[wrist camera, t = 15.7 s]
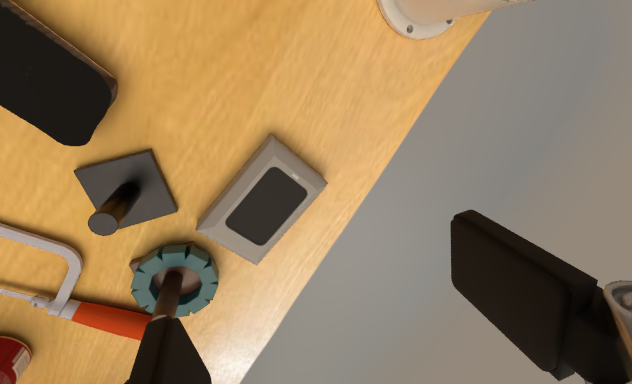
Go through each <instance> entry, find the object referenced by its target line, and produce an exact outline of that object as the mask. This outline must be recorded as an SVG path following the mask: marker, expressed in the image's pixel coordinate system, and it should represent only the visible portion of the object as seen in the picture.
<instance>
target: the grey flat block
mask: <svg viewBox="0 0 632 384" xmlns="http://www.w3.org/2000/svg"><path fill="white" fill-rule="evenodd" d="M327 184H328V182H327V181H326V180H325V179H324V178H323V177H322V176H321V175H319V174H318V173H317V172H316V171H315V170H313V169H312V168H311V167H310V166H309V165H307V164H306V163H305V162H304V161H303V160H301V159H300V158H299V157H298V156H297V155H295V154H294V153H293V152H292V151H291V150H289V149H288V148H287V147H286V146H285V145H283V144H282V143H281V142H280V141H279V140H277V139H276V138H275V137H274V136H273V135H271V134H270V135H269V136H268V137H267V139H266V140H265V141H264V142H263V143H262V145H261V146H260V147H259V148H258V149H257V151H256V152H255V153H254V154H253V155H252V157H251V158H250V159H249V160H248V161H247V163H246V164H245V165H244V166H243V167H242V169H241V170H240V171H239V172H238V173H237V175H236V176H235V177H234V178H233V179H232V181H231V182H230V183H229V184H228V185H227V187H226V188H225V189H224V190H223V191H222V193H221V194H220V195H219V196H218V197H217V199H216V200H215V201H214V202H213V203H212V205H211V206H210V207H209V208H208V209H207V211H206V212H205V213H204V214H203V215H202V217H201V218H200V219H199V220H198V221H197V225H196V231H197V232H199V233H201V234H203V235H204V236H206V237H208V238H210V239H211V240H213V241H215V242H217V243H218V244H220V245H222V246H224V247H225V248H227V249H229V250H231V251H232V252H234V253H236V254H238V255H239V256H241V257H243V258H245V259H246V260H248V261H250V262H252V263H253V264H255V265H258V263H259V262H260V261H261V260H262V259H263V258H264V257H265V256H266V254H267V253H268V252H269V251H270V250H271V249H272V248H273V246H274V245H275V244H276V243H277V242H278V241H279V240H280V239H281V237H282V236H283V235H284V234H285V233H286V232H287V231H288V229H289V228H290V227H291V226H292V225H293V224H294V223H295V222H296V220H297V219H298V218H299V217H300V216H301V215H302V214H303V213H304V211H305V210H306V209H307V208H308V207H309V206H310V205H311V203H312V202H313V201H314V200H315V199H316V198H317V197H318V196H319V194H320V193H321V192H322V191H323V190H324V188H325V187H326V185H327Z"/></svg>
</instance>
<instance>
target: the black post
mask: <svg viewBox="0 0 632 384" xmlns="http://www.w3.org/2000/svg"><path fill="white" fill-rule="evenodd" d="M74 173H75V175H76V176H77V178H78V180H79V181H80V183H81V185H82V186H83V188H84V190H85V192H86V193H87V195H88V197H89V198H90V200H91V202H92V203H93V205H94V207H95V208H96V211H95V212H94V214H93V215H92V216H91V217H90V218H89V220H88V226H89V228H90V230H91V231H92V232H94V233H95V234H98V235H102V236H107V235H111V234H113V233H114V232H116V230H118V229H121V228H124V227H128V226H131V225H135V224H138V223H141V222H145V221H148V220H151V219H155V218H158V217H162V216H165V215H168V214H172V213H175V212H177V211H178V207H177V205H176V202H175V200H174V198H173V196H172V194H171V191H170V189H169V187H168V185H167V183H166V180H165V178H164V176H163V174H162V172H161V170H160V167H159V165H158V163H157V161H156V159H155V156H154V154H153V152H152V150H151V149H150V150H146V151H142V152H138V153H134V154H130V155H127V156H123V157H119V158H115V159H111V160H107V161H104V162H100V163H96V164H92V165H88V166H84V167H80V168H77V169H76V170H74Z"/></svg>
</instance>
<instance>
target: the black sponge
mask: <svg viewBox="0 0 632 384" xmlns="http://www.w3.org/2000/svg"><path fill="white" fill-rule="evenodd" d="M116 96H117V81H116V79H115V78H114V76H113V75H111V74H110V73H108V72H107V71H106V70H105V69H103V68H102V67H100V66H99V65H98V64H96V63H95V62H94V61H93V60H91V59H90V58H89V57H87V56H86V55H84V54H83V53H81V52H80V51H79V50H78V49H77V48H75V47H74V46H72V45H71V44H69V43H68V42H67V41H65V40H64V39H63V38H61V37H60V36H58V35H57V34H56V33H54V32H53V31H52V30H51V29H49V28H47V27H46V26H45V25H43V24H42V23H41V22H40V21H38V20H37V19H35V18H34V17H33V16H32V15H31V14H29V13H28V12H26V11H25V10H24V9H22V8H21V7H19V6H18V5H17V4H16V3H14V2H13V1H11V0H0V105H1V106H2V107H4V108H6V109H7V110H9V111H10V112H12V113H14V114H15V115H17V116H19V117H20V118H22V119H24V120H25V121H27V122H29V123H30V124H32V125H34V126H35V127H37V128H38V129H40V130H41V131H43V132H44V133H46V134H47V135H49V136H50V137H52V138H53V139H55V140H56V141H57V142H59V143H61V144H63V145H68V146H82V145H86V144H87V143H88V142H89V141H90V139H91V137H92V135H93V133H94V130H95V129H96V127H97V125H98V124H99V123H100V121H101V120H102V119H103V117H104V116H105V114H106V112H107V110H108V108H109V107H110V106H111V104H112V103H113V102H114V101H115V99H116Z"/></svg>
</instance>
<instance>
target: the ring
mask: <svg viewBox="0 0 632 384" xmlns="http://www.w3.org/2000/svg"><path fill="white" fill-rule="evenodd" d="M208 257H209V254H207V253H205V252H203V251H201V250H199V249H197V248H196V247H194V246H191V247H190V248H189V249H188V251H187V245H186V244H185V245H167V246H165V247H164V249H163V250H162V249H161V248H160V247H159V248H158V249H156V250H155V251H153V252H152V253H150V254H149V255H147V256H146V257H144V258H143V259H142V261H141V262H140V263H139V265H138V267H137V269H136V271H135V274H134V278H133V281H132V285H131V289H133V290H132V292H131V293H132V295H133V296H134V298H135V300H136V301H137V303H138V304H139V306H140V307H144V306H146V307H145V311H147V312H150V313H153V311H154V308H155V305H156V302H157V298H158V295H159V292H160V291H159V290H158V289H157V287H156V285H155V283H154V282H153V280H152V278H153V275H155V274H156V273H158V272H159V271H161V270H162V269H164V268H165V267H176V266H184V267H186V268H188V269H190V270H192V271H195V272H197V274H198V276H199V278H200V280H201V283H200V286H199V287H198V288H197V289H195V290H194V291H192V292H191V293H189V294H188V295H180V297H179V302H178V306H177V311H176V316H175V317H182V316H189V313H190V311H191V312H192V313H193V314H195V313H196V312H198V311H199V310H201V309H202V308H204V307H205V306H207V305H208V304H209V303H210V300H213V297H214V295H215V292H216V289H217V287H218V270H217V267H216V265H215V263H214V261H213V259H212V258H209V259H208Z"/></svg>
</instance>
